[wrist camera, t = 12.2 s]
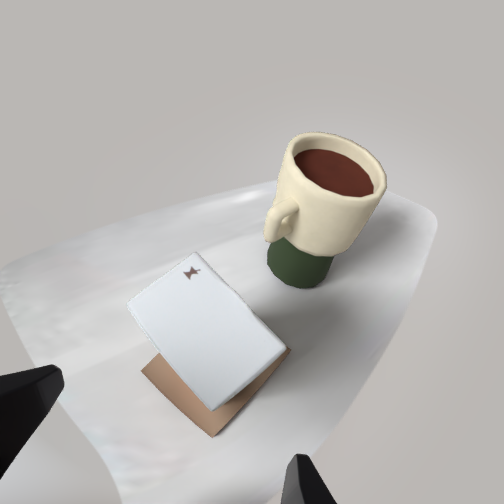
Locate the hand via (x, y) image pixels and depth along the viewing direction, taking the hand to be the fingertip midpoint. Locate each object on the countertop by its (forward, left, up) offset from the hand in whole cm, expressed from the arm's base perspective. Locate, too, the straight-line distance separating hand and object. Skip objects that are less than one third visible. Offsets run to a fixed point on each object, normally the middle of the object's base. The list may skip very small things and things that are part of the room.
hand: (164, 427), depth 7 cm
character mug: (+15, -9, -14) cm, 22 cm away
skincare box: (+4, -1, -13) cm, 14 cm away
